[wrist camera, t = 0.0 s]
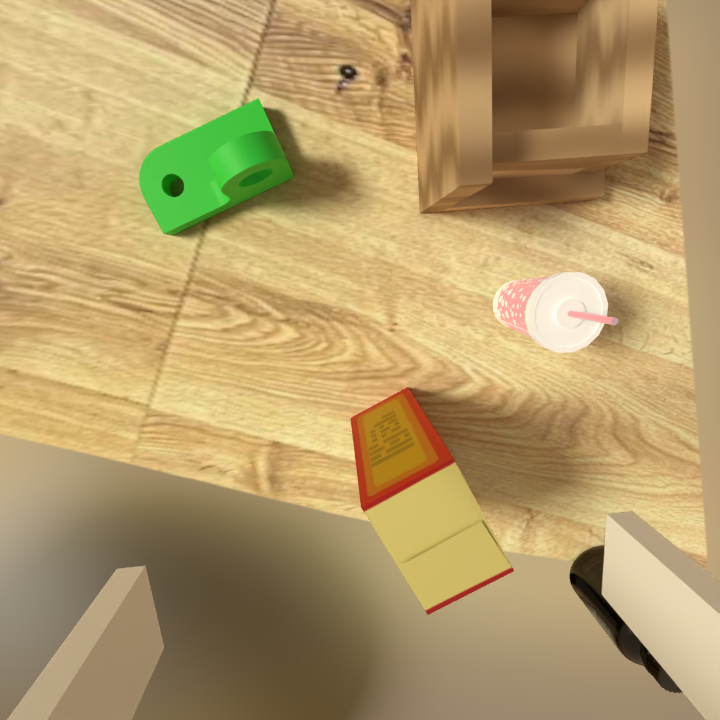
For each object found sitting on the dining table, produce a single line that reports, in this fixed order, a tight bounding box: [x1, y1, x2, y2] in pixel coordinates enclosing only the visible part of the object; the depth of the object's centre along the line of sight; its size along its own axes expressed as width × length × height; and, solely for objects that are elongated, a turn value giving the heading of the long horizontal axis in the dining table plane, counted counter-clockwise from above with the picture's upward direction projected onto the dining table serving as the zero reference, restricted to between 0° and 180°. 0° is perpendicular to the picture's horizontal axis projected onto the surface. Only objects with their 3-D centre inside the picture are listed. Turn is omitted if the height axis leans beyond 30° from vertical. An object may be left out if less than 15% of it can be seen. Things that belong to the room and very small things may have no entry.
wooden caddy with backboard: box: [411, 0, 659, 213], centre depth 29 cm, size 18×16×12 cm
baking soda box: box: [351, 387, 514, 615], centre depth 33 cm, size 10×6×16 cm
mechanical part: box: [139, 98, 294, 235], centre depth 31 cm, size 12×6×8 cm, turn 114°
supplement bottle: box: [570, 547, 682, 693], centre depth 40 cm, size 7×7×12 cm
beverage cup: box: [493, 272, 618, 353], centre depth 32 cm, size 6×6×14 cm
